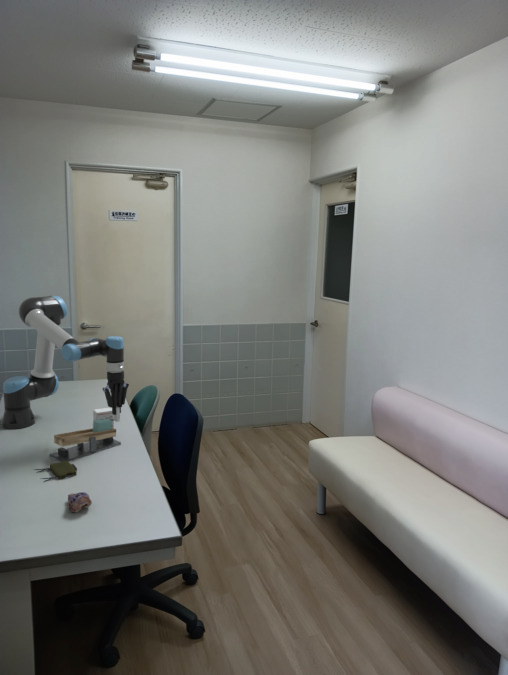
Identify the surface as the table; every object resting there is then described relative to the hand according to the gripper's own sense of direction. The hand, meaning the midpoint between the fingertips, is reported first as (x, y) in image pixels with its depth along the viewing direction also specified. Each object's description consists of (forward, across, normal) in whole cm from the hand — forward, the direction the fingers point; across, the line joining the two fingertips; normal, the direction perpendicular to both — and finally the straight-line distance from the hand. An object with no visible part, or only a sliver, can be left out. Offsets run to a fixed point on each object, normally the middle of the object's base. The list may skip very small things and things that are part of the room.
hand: (116, 420), depth 232 cm
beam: (+3, -16, 0) cm, 16 cm away
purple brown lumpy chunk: (+10, -46, -41) cm, 62 cm away
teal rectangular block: (+3, -8, 0) cm, 9 cm away
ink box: (+10, +1, +12) cm, 15 cm away
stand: (+9, -16, 0) cm, 19 cm away
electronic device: (+10, -37, -12) cm, 40 cm away
